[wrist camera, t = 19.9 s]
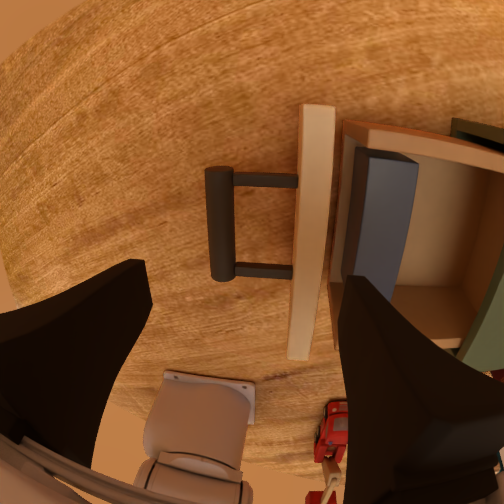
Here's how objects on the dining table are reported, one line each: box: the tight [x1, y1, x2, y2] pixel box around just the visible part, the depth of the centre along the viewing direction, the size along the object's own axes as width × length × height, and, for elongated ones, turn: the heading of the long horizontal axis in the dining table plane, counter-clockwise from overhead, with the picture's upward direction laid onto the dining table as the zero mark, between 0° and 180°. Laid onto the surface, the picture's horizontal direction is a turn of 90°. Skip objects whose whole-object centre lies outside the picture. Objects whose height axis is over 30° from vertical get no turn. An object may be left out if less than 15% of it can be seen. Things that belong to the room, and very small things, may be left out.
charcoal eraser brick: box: [340, 146, 419, 302], centre depth 16 cm, size 3×8×3 cm, turn 0°
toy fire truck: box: [305, 401, 348, 504], centre depth 27 cm, size 3×14×10 cm, turn 179°
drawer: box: [204, 104, 504, 361], centre depth 15 cm, size 18×12×7 cm
